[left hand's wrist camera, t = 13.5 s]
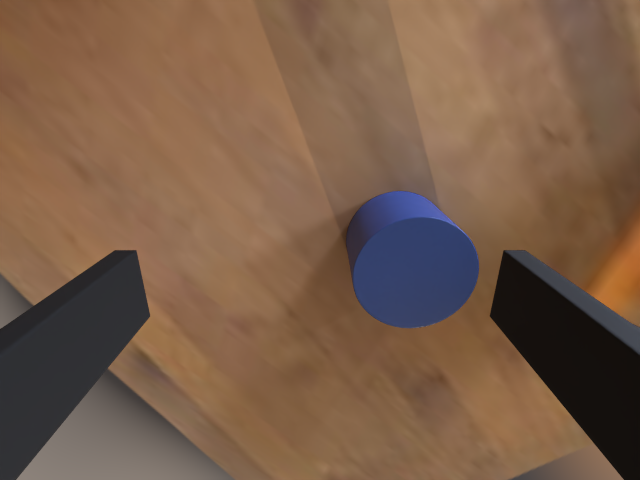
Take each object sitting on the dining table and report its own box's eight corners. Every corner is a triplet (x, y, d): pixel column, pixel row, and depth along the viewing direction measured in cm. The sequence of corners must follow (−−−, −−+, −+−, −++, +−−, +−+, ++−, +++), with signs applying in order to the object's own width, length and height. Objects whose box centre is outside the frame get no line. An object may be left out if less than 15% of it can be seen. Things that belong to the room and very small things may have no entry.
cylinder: (330, 263, 32) (333, 305, 25) (372, 175, 29) (387, 196, 22) (415, 295, 33) (438, 343, 27) (464, 213, 30) (504, 245, 23)
